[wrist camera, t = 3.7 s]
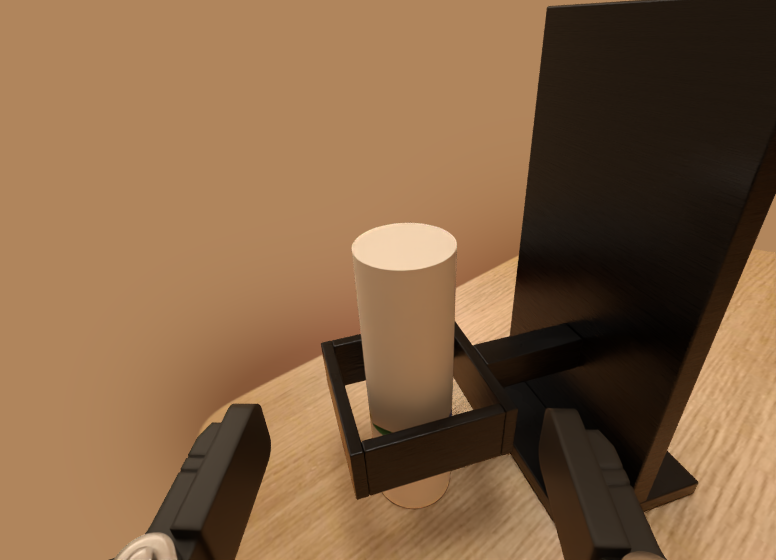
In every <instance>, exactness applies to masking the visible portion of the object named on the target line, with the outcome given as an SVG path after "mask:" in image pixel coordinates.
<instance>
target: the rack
mask: <svg viewBox="0 0 776 560" xmlns="http://www.w3.org/2000/svg"><path fill="white" fill-rule="evenodd" d="M775 194H776V0H635V1H620V2H605V3H591V4H575V5H561V6H549V7H547V12H546V21H545V29H544V38H543V47H542V56H541V65H540V73H539V83H538V91H537V100H536V109H535V118H534V126H533V135H532V144H531V153H530V162H529V171H528V179H527V189H526V197H525V206H524V216H523V223H522V233H521V242H520V250H519V259H518V268H517V277H516V285H515V294H514V303H513V312H512V321H511V330H510V336H509V337H505V338H501V339H497V340H493V341H489V342H484V343H480V344H476V345H472V344H471V343H470V341H469V340H468V339H467V337H466V336H465V334H464V333H463V332H462V330H461V329H460V328H459V326H458V325H457V323H456V322H455V325H454V358H453V377H454V379H455V380H456V382H457V384H458V385H459V387H460V389H461V390H462V392H463V393H464V395H465V397H466V398H467V400H468V402H469V403H470V405H471V407H472V408H473V410H472V411H468V412H465V413H461V414H457V415H454V416H450V417H447V418H443V419H440V420H436V421H432V422H429V423H425V424H422V425H418V426H414V427H411V428H407V429H404V430H400V431H396V432H393V433H389V434H386V435H382V436H379V437H375V438H371V439H368V440H364V441H362V442H361V440H360V437H359V433H358V430H357V427H356V423H355V420H354V416H353V413H352V409H351V406H350V403H349V399H348V396H347V392H346V389H345V385H349V384H353V383H357V382H361V381H365V380H366V375H365V366H364V357H363V348H362V339H361V334H359V335H355V336H350V337H345V338H341V339H337V340H333V341H328V342H323V343H321V347H322V352H323V359H324V364H325V370H326V376H327V382H328V386H329V390H330V394H331V398H332V402H333V406H334V410H335V414H336V419H337V423H338V427H339V431H340V435H341V439H342V443H343V447H344V451H345V455H346V459H347V463H348V467H349V471H350V476H351V480H352V484H353V488H354V492H355V496H356V499H357V500H358V499H361V498H365V497H368V496H369V494H370V495H374V494H378V493H381V492H384V491H387V490H391V489H394V488H397V487H400V486H404V485H407V484H410V483H413V482H417V481H420V480H423V479H426V478H430V477H433V476H436V475H439V474H443V473H446V472H449V471H452V470H456V469H459V468H462V467H465V466H469V465H472V464H475V463H478V462H482V461H485V460H488V459H491V458H495V457H498V456H500V455H505V454H508V453H511V455H512V456H513V458H514V459H515V461H516V462H517V464H518V466H519V467H520V469H521V470H522V472H523V474H524V475H525V477H526V478H527V480H528V481H529V483H530V485H531V486H532V488H533V489H534V491H535V492H536V494H537V496H538V497H539V499H540V500H541V502H542V503H543V505H544V507H545V508H546V510H547V511H548V513H549V515H550V516H551V518H552V519H553V521H554V517H553V514H552V510H551V506H550V502H549V498H548V494H547V491H546V487H545V483H544V479H543V475H542V472H541V467H540V462H539V441H540V436H541V430H542V425H543V420H544V414H545V411H546V409H547V408H557V409H576V410H577V411H578V413H579V415H580V417H581V420H582V422H583V425H584V428H585V430H599V431H600V432H601V433H602V434H603V435H604V436H605V437H606V438H607V439H608V440H609V441H610V443H611V444H612V445H613V446H614V447H615V449H616V452H617V454H618V456H619V458H620V461H621V463H622V465H623V470H625V472H626V474H627V476H628V479H629V481H630V486H632V488H633V490H634V492H635V494H636V497H637V499H638V501H639V503H640V506H641V508H642V510H643V511H646V510H648V509H651V508H654V507H656V506H659V505H662V504H665V503H667V502H670V501H673V500H676V499H678V498H681V497H684V496H686V495H689V494H692V493H693V492H694V491H695V489H696V487H697V485H698V481H697V480H696V479H695V478H694V477H693V476H692V475H691V474H690V473H689V472H688V471H687V470H686V469H685V468H684V467H683V466H682V465H681V464H680V463H679V462H678V461H677V460H676V459H675V458H674V457H673V456H672V455H671V454H670V453H669V452H668V451H667V449H668V447H669V444H670V442H671V440H672V437H673V435H674V433H675V430H676V428H677V426H678V423H679V421H680V418H681V416H682V414H683V411H684V409H685V407H686V404H687V402H688V400H689V397H690V395H691V392H692V390H693V388H694V385H695V383H696V381H697V378H698V376H699V374H700V371H701V369H702V367H703V364H704V362H705V359H706V357H707V355H708V352H709V350H710V348H711V345H712V343H713V341H714V338H715V336H716V333H717V331H718V329H719V326H720V324H721V322H722V319H723V317H724V315H725V312H726V310H727V307H728V305H729V303H730V300H731V298H732V296H733V293H734V291H735V289H736V286H737V284H738V281H739V279H740V277H741V274H742V272H743V270H744V267H745V265H746V263H747V260H748V258H749V255H750V253H751V251H752V248H753V246H754V244H755V241H756V239H757V236H758V234H759V232H760V229H761V227H762V225H763V222H764V220H765V217H766V215H767V213H768V211H769V208H770V205H771V203H772V201H773V199H774V196H775ZM554 522H555V521H554Z"/></svg>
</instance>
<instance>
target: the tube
mask: <svg viewBox="0 0 776 560" xmlns="http://www.w3.org/2000/svg"><path fill="white" fill-rule="evenodd" d="M352 257H353V265H354V275H355V284H356V293H357V301H358V311H359V320H360V329H361V339H362V348H363V357H364V366H365V375H366V384H367V393H368V402H369V410H370V419H371V428H372V438H375V437H379V436H382V435H386V434H389V433H393V432H396V431H400V430H404V429H407V428H411V427H414V426H418V425H422V424H425V423H429V422H432V421H436V420H440V419H443V418H447V417H450V416H452V391H453V358H454V325H455V291H456V257H457V243H456V240H455V238H454V237H453V236H452V235H451V234H450V233H449V232H447V231H446V230H443V229H441V228H439V227H435V226H432V225H426V224H420V223H397V224H389V225H384V226H380V227H377V228H374V229H371V230H369V231H367V232H365V233H363V234H361V235H360V236H359V237H358V238H357V239H356V240H355V241H354V243H353V245H352ZM449 480H450V471H449V472H446V473H443V474H439V475H436V476H433V477H430V478H426V479H423V480H420V481H417V482H413V483H410V484H407V485H404V486H400V487H397V488H394V489H391V490H387V491H384V492H382V493H383V494H384V495H385V497H386V498H388V499H389V500H390V501H391V502H393V503H395V504H397V505H399V506H402V507H405V508H422V507H426V506H429V505H431V504H433V503H435V502H436V501H437V500H439V499H440V498H441V497H442V495H443V494H444V493H445V491H446V489H447V487H448V485H449Z"/></svg>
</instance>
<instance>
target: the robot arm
mask: <svg viewBox="0 0 776 560" xmlns="http://www.w3.org/2000/svg"><path fill="white" fill-rule="evenodd" d="M270 452H271V440H270V435H269V432H268V429H267V425H266V422H265V418H264V415H263V412H262V408H261V406H260V405H259V404H232V405H231V406H230V407H229V408H228V410H227V412H226V414H225V416H224V418H223V420H222V422H221V423H211V424H210V425H209V426H208V427H207V428H206V429H205V430H204V431H203V432H202V433H201V434H200V435H199V436H198V437H197V439H196V441H195V443H194V445H193V447H192V448H191V451H190V452H189V454H188V458H186V460H185V462H184V464H183V465H182V467H181V472H180V473H178V475H177V477H176V479H175V481H174V483H173V484H172V486H171V488H170V490H169V492H168V494H167V496H166V497H165V499H164V502H163V503H162V505H161V507H160V509H159V511H158V513H157V515H156V516H155V518H154V520H153V522H152V524H151V526H150V527H149V529H148V531H147V532H146V533H145V535H143V536H140V537H138V538H136V539H135V540H133V541H132V542H130V543H129V544H128V545H126V546H125V547H124V548H123V549H122V550H121V551H120V552H119V554H118V555H117V556H116V557H115V558H113V559H110V560H235V557H236V554H237V552H238V549H239V546H240V543H241V540H242V537H243V534H244V531H245V528H246V525H247V522H248V520H249V517H250V514H251V511H252V508H253V505H254V502H255V499H256V496H257V493H258V490H259V487H260V485H261V482H262V479H263V476H264V473H265V470H266V467H267V464H268V461H269V457H270ZM539 462H540V467H541V472H542V475H543V479H544V483H545V487H546V491H547V494H548V498H549V502H550V506H551V510H552V514H553V517H554V521H555V525H556V529H557V533H558V536H559V540H560V544H561V548H562V552H563V556H564V559H565V560H667V559H666V558H665V556H664V555H663V553H662V552H661V550H660V548H659V546H658V544H657V541H656V539H655V537H654V535H653V533H652V530H651V528H650V526H649V524H648V521H647V519H646V517H645V515H644V512H643V510H642V508H641V506H640V503H639V501H638V499H637V497H636V494H635V492H634V490H633V488H632V486H630V481H629V479H628V476H627V474H626V472H625V470H623V465H622V463H621V461H620V458H619V456H618V454H617V452H616V449H615V447H614V446H613V445H612V444H611V443H610V441H609V440H608V439H607V438H606V437H605V436H604V435H603V434H602V433H601V432H600V431H599V430H585V428H584V425H583V422H582V420H581V417H580V415H579V413H578V411H577V410H576V409H557V408H547V409H546V411H545V414H544V420H543V425H542V430H541V436H540V441H539Z"/></svg>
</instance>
